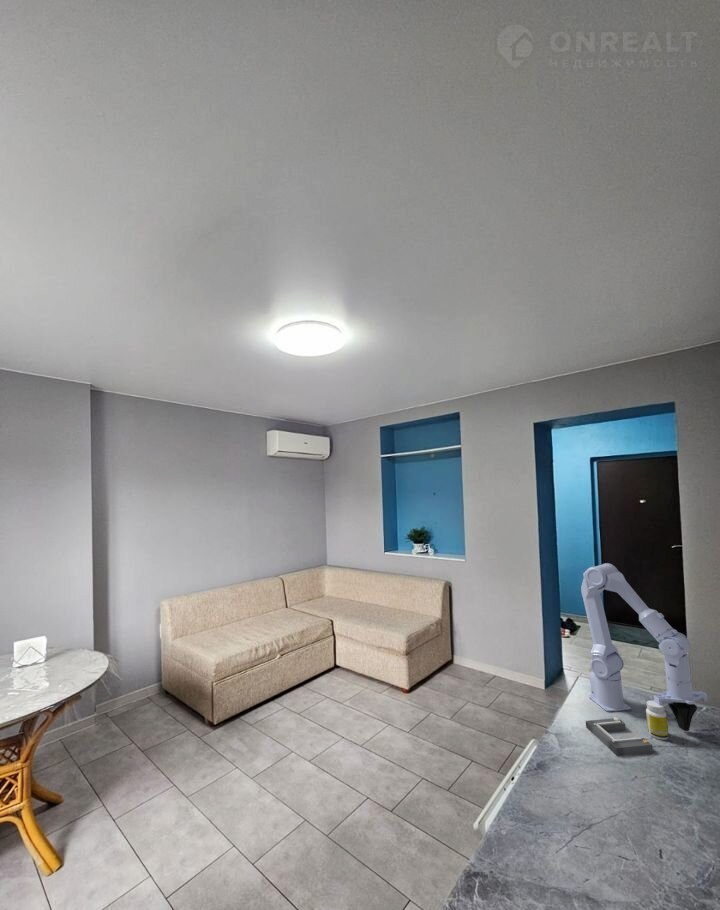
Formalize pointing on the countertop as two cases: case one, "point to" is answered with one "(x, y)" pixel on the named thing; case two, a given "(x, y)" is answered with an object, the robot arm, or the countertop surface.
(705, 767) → the countertop surface
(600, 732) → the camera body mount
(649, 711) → the supplement bottle
